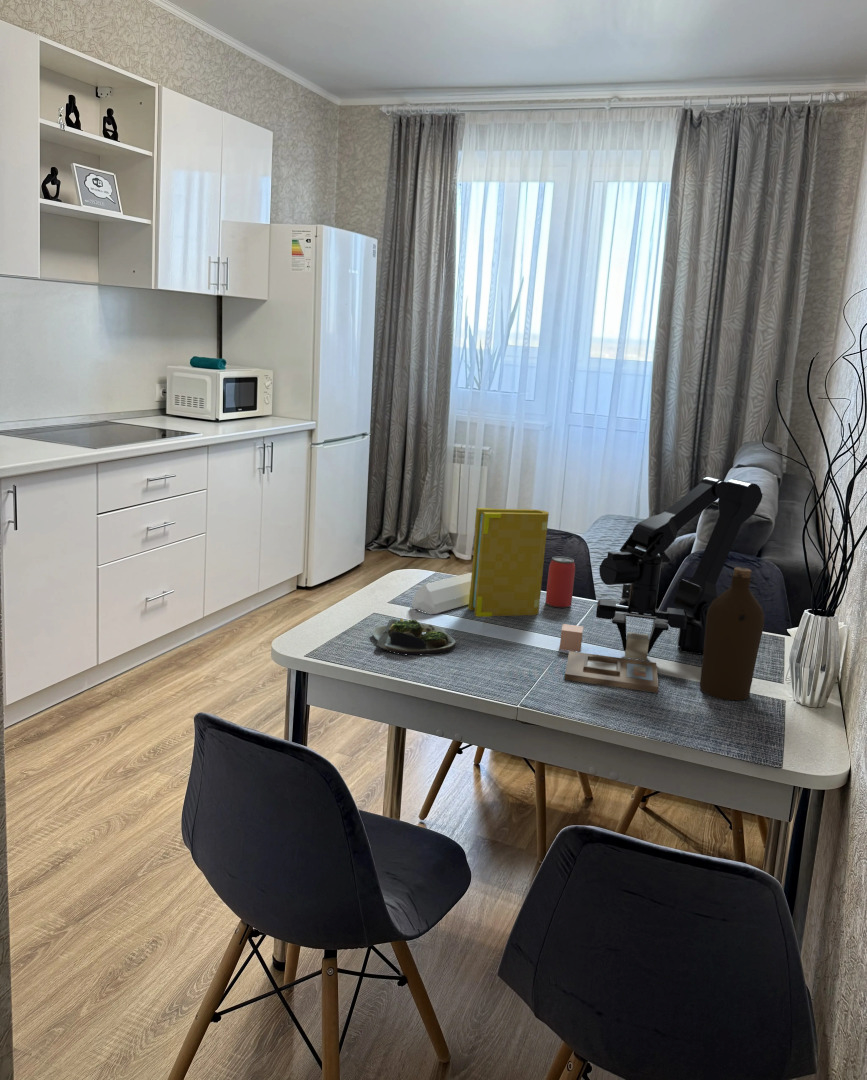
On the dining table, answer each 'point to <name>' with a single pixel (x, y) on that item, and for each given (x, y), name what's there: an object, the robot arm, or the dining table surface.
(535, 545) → the book
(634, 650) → the birch block
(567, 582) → the beer can
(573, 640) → the terracotta block
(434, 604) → the crystal
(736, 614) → the olive oil
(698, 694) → the dining table surface
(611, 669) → the board
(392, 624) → the salad plate
